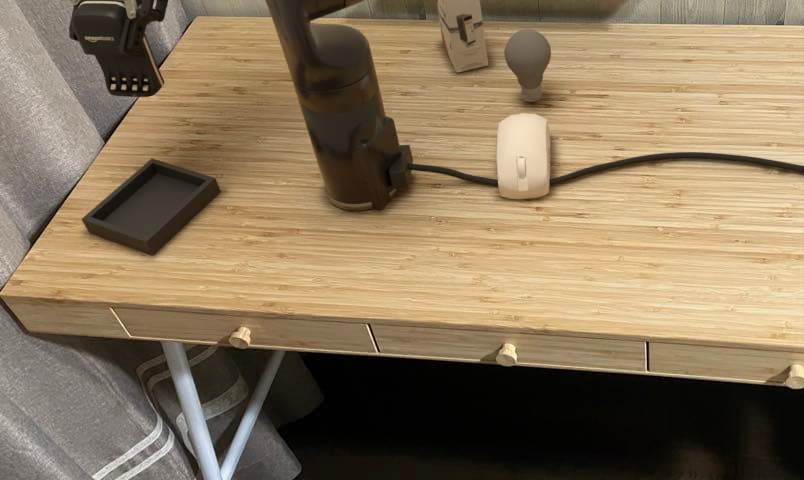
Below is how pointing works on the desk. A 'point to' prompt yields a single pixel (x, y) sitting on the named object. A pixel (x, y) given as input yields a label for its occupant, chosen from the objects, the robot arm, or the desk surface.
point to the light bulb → (528, 61)
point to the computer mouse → (523, 156)
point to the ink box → (463, 33)
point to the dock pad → (151, 206)
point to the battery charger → (115, 49)
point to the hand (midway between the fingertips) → (102, 47)
